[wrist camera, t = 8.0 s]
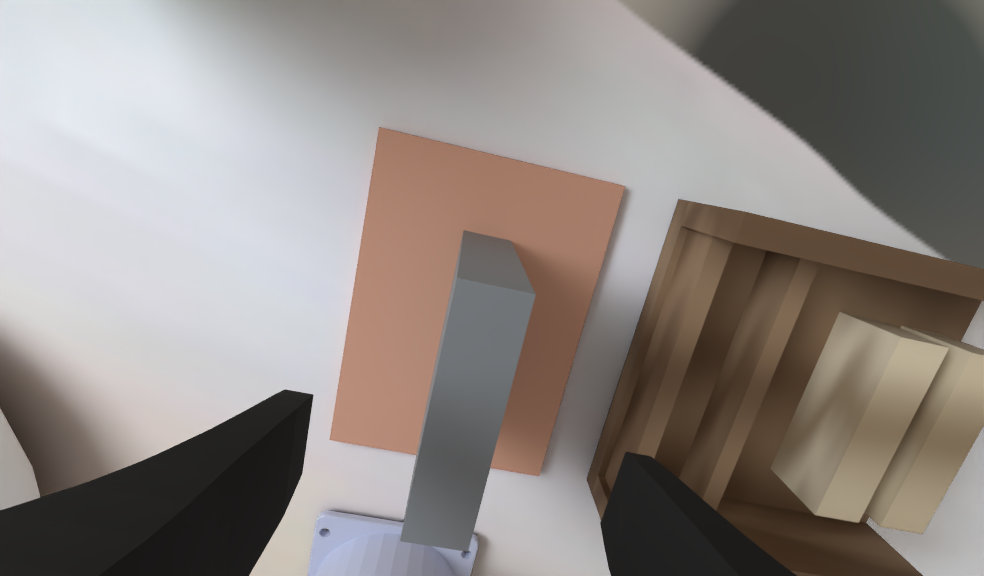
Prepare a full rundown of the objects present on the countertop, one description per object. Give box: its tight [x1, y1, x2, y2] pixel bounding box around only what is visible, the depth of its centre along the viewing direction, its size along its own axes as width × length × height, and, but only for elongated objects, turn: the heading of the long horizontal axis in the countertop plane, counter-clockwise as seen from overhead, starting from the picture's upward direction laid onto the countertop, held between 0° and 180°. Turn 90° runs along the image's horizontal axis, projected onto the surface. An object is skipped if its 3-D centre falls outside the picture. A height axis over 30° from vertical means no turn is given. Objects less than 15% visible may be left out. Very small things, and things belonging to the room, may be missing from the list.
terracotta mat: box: [330, 127, 625, 476], centre depth 20 cm, size 14×10×1 cm
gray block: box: [400, 230, 536, 552], centre depth 16 cm, size 8×2×8 cm, turn 167°
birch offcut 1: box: [770, 312, 949, 523], centre depth 20 cm, size 8×2×3 cm, turn 167°
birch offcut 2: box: [865, 326, 984, 534], centre depth 20 cm, size 8×2×3 cm, turn 167°
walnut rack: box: [587, 199, 984, 576], centre depth 19 cm, size 14×14×5 cm
